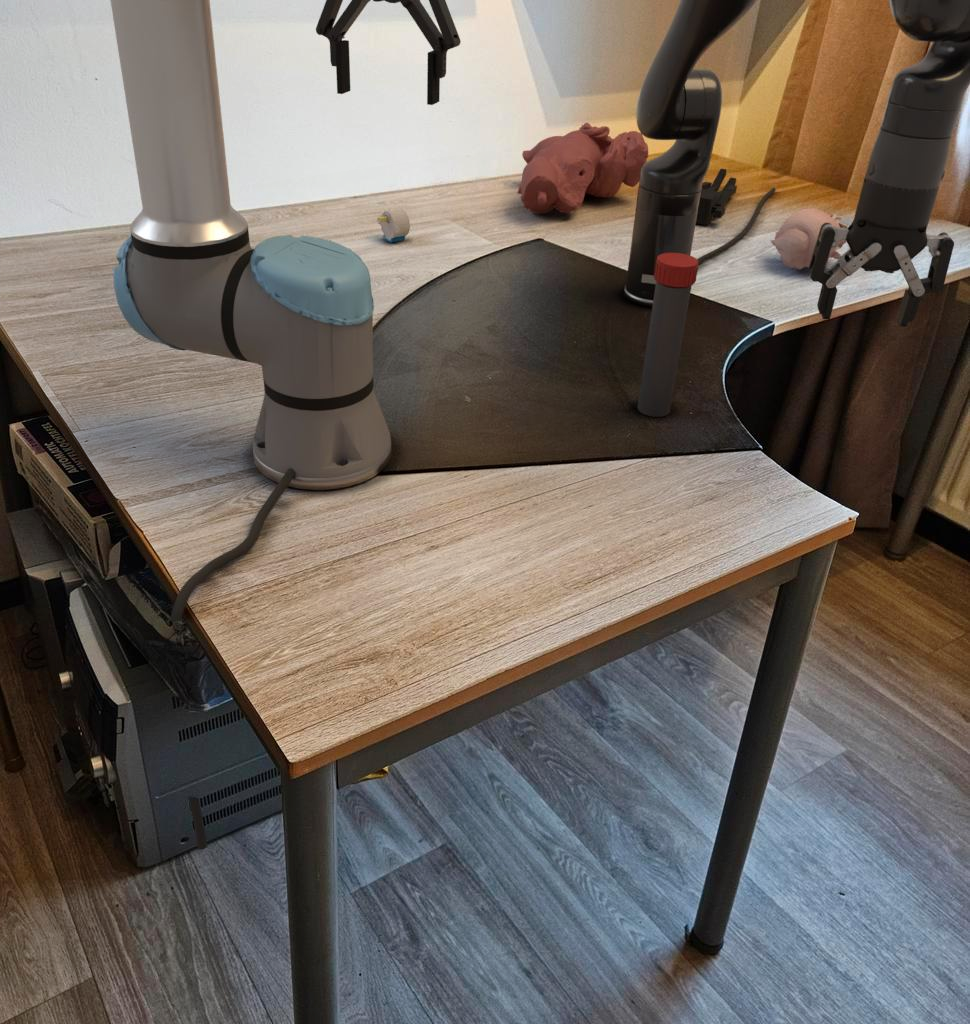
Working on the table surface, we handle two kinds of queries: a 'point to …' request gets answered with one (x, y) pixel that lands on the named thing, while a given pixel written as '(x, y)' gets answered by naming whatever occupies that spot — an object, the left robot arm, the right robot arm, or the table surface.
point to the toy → (804, 237)
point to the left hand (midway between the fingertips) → (388, 97)
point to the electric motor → (394, 225)
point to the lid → (676, 269)
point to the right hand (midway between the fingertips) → (862, 320)
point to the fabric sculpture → (580, 168)
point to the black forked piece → (714, 198)
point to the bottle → (663, 349)
